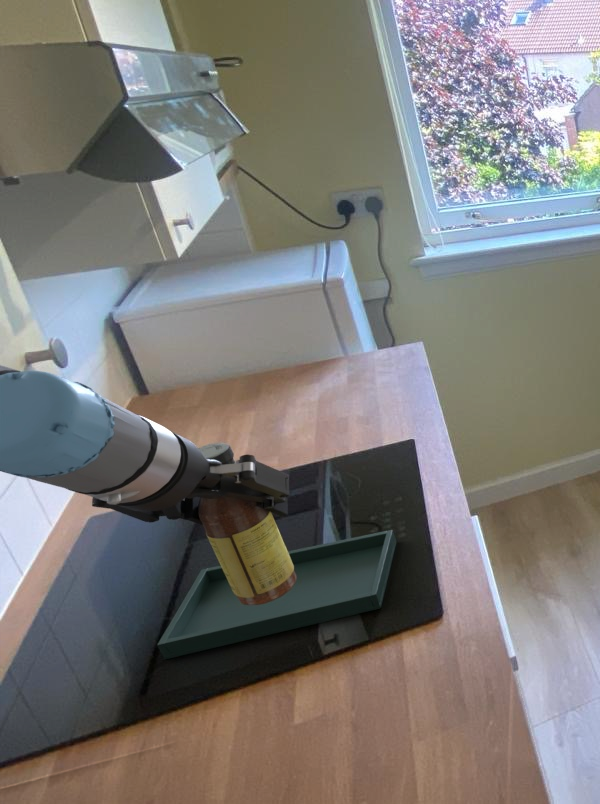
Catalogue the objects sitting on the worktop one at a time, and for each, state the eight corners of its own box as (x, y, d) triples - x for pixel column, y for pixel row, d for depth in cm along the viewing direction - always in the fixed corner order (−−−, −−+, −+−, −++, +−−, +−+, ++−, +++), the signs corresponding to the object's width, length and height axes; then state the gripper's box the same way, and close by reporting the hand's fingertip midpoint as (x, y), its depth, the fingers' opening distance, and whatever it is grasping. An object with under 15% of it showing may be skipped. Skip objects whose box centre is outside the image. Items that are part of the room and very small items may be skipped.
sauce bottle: (304, 568, 92) (256, 431, 84) (290, 602, 87) (237, 458, 79) (244, 580, 91) (189, 440, 83) (225, 614, 85) (164, 469, 77)
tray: (164, 659, 96) (156, 645, 95) (208, 582, 109) (201, 569, 108) (380, 608, 103) (376, 594, 102) (396, 542, 117) (392, 529, 116)
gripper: (0, 527, 63) (154, 560, 84) (257, 482, 69) (342, 523, 90) (9, 445, 66) (157, 496, 87) (256, 407, 71) (339, 464, 92)
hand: (251, 510), depth 88 cm, fingers closed on sauce bottle, 6 cm apart
